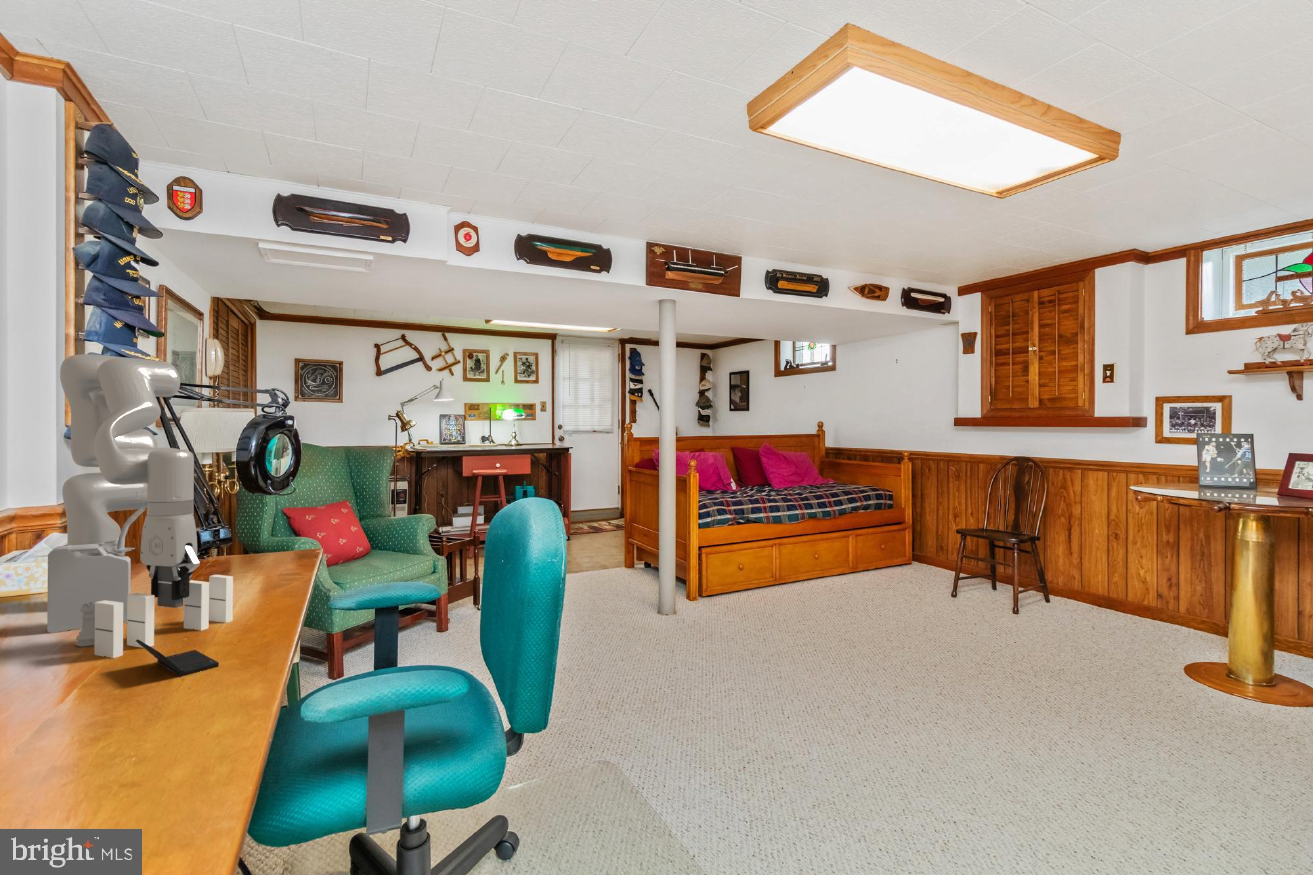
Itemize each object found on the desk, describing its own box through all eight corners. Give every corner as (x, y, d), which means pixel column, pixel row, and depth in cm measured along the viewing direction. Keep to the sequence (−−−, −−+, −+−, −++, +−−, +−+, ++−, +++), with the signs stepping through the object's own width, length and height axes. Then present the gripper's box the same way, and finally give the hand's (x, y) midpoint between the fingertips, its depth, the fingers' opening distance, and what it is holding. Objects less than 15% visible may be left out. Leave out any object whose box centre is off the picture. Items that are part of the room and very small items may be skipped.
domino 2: (135, 642, 122) (136, 592, 122) (154, 645, 121) (154, 595, 121) (126, 645, 121) (127, 594, 120) (145, 648, 119) (145, 597, 119)
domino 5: (215, 618, 138) (216, 574, 138) (232, 620, 137) (233, 576, 136) (208, 620, 136) (209, 576, 136) (225, 622, 135) (226, 578, 135)
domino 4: (191, 625, 133) (191, 580, 133) (208, 628, 131) (209, 582, 131) (183, 628, 131) (184, 581, 131) (201, 630, 130) (201, 583, 130)
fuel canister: (145, 615, 139) (146, 506, 139) (143, 620, 135) (144, 508, 135) (52, 627, 130) (52, 510, 130) (47, 633, 126) (48, 513, 126)
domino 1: (104, 651, 117) (104, 600, 117) (123, 655, 115) (123, 602, 115) (94, 654, 115) (94, 602, 115) (113, 658, 114) (113, 605, 114)
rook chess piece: (87, 648, 118) (87, 607, 118) (69, 646, 119) (69, 605, 119) (111, 640, 123) (112, 601, 123) (94, 638, 124) (94, 599, 124)
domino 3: (175, 607, 124) (175, 559, 124) (157, 605, 126) (157, 557, 126) (183, 605, 126) (183, 557, 126) (165, 603, 127) (165, 555, 127)
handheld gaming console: (231, 654, 113) (191, 620, 108) (199, 689, 108) (155, 656, 102) (195, 652, 118) (155, 620, 113) (162, 686, 112) (119, 654, 107)
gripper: (120, 509, 124) (120, 598, 124) (182, 513, 120) (182, 606, 120) (159, 505, 132) (159, 589, 132) (219, 509, 127) (219, 596, 127)
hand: (170, 596), depth 126 cm, fingers closed on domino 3, 4 cm apart
